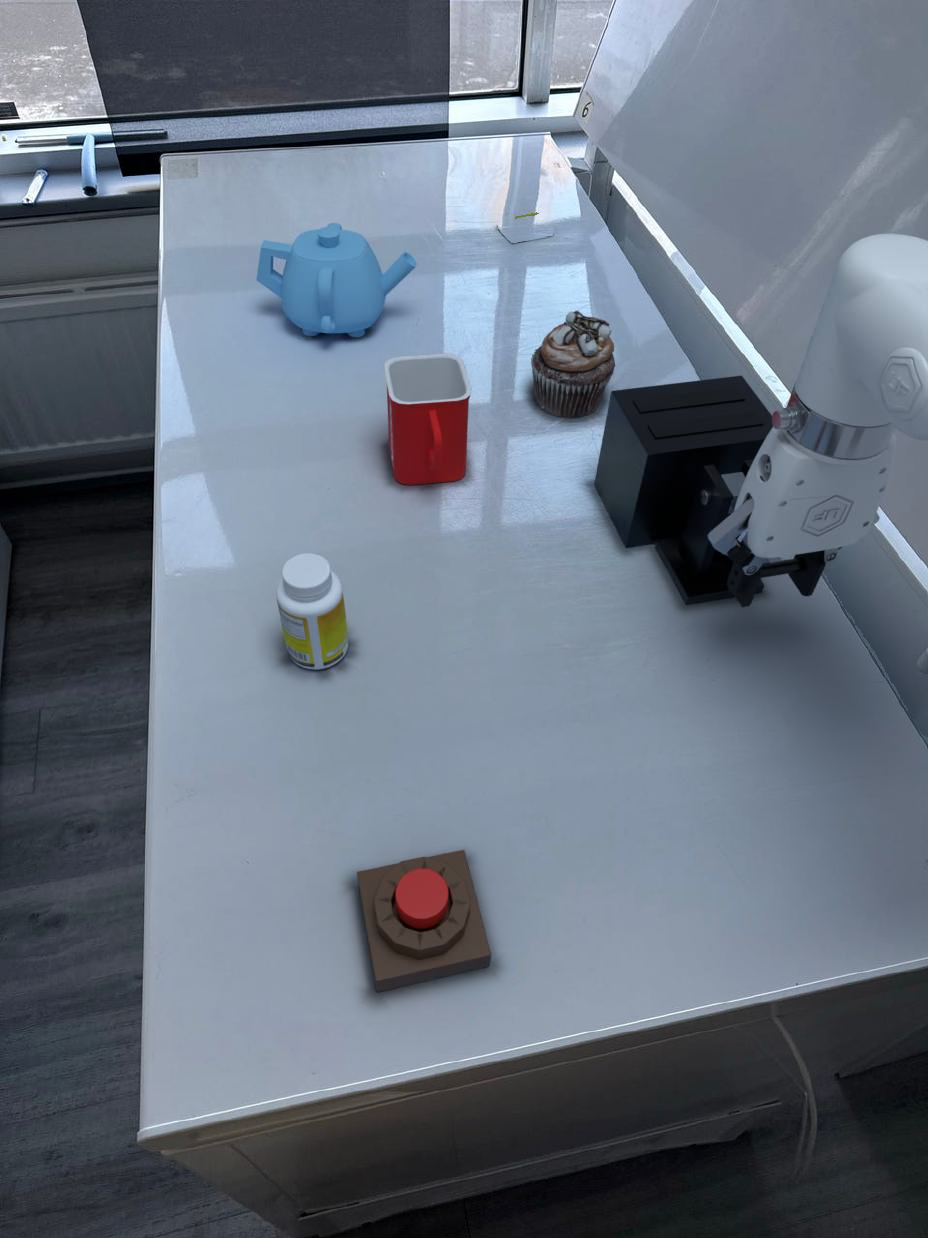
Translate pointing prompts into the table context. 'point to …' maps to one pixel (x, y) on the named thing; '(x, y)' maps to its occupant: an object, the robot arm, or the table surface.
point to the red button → (421, 898)
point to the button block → (422, 951)
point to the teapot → (330, 280)
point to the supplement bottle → (312, 612)
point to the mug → (427, 417)
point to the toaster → (673, 450)
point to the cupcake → (573, 366)
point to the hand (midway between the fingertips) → (769, 588)
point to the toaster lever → (770, 564)
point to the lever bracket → (702, 543)
